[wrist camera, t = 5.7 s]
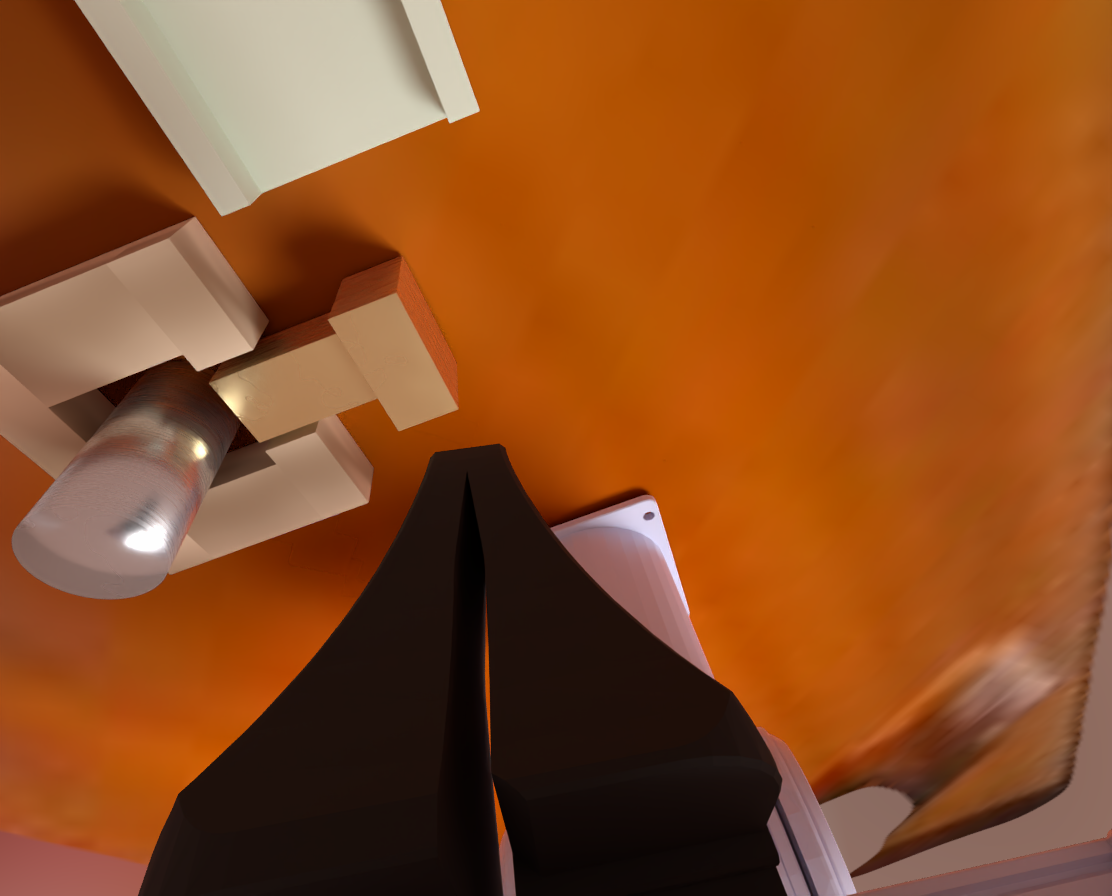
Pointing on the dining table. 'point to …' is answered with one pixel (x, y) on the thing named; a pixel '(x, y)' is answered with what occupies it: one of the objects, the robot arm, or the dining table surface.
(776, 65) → the dining table surface
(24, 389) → the socket block
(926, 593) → the dining table surface
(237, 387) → the block
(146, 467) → the peg
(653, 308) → the dining table surface
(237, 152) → the pad
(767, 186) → the dining table surface
